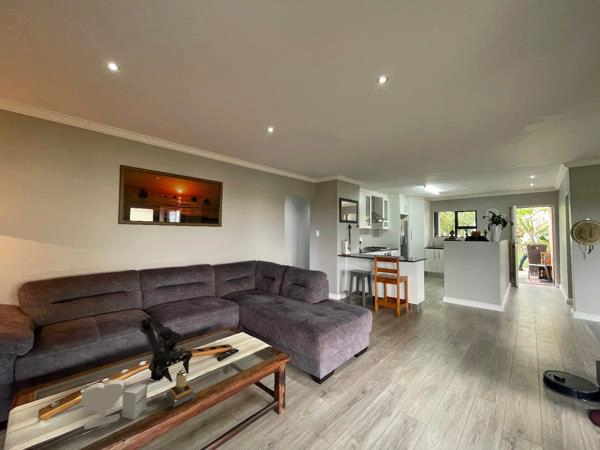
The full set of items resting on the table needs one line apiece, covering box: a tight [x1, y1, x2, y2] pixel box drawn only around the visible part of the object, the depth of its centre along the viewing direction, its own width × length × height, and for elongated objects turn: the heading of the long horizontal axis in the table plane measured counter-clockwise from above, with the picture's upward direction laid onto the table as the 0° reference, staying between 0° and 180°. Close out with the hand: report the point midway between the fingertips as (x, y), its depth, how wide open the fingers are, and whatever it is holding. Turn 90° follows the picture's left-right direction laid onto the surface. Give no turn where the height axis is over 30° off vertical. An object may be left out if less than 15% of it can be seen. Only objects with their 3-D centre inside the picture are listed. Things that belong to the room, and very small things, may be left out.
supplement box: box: [121, 382, 148, 420], centre depth 124 cm, size 7×7×13 cm
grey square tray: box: [165, 381, 196, 408], centre depth 136 cm, size 11×11×5 cm
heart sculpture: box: [80, 379, 125, 430], centre depth 118 cm, size 16×5×18 cm, turn 118°
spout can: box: [175, 369, 188, 395], centre depth 136 cm, size 6×5×12 cm
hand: (179, 377), depth 137 cm, fingers open, 9 cm apart
